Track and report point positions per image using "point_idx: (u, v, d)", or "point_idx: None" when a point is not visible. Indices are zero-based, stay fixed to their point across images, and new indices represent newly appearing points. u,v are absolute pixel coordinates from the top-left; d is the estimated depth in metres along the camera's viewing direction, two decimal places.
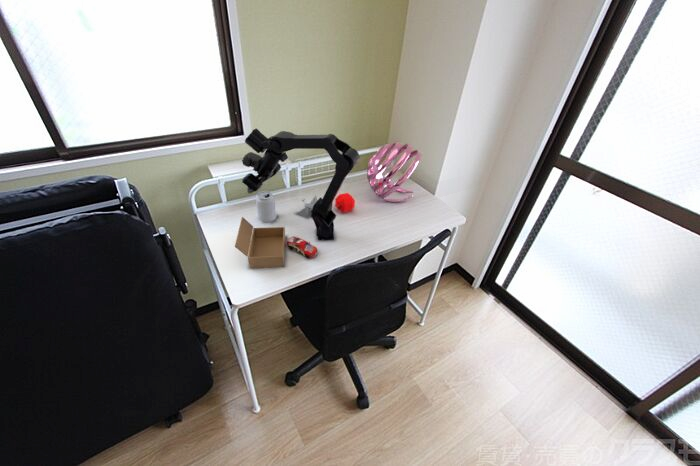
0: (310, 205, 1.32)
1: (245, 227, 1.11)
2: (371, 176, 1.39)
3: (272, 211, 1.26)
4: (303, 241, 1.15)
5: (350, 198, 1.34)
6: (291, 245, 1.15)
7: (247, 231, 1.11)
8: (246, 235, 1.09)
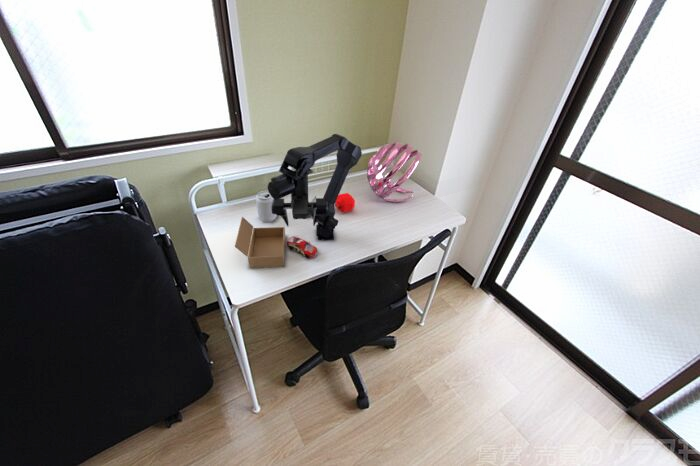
0: None
1: (245, 227, 1.11)
2: (371, 176, 1.39)
3: None
4: (303, 241, 1.15)
5: (350, 198, 1.34)
6: (291, 245, 1.15)
7: (247, 231, 1.11)
8: (246, 235, 1.09)
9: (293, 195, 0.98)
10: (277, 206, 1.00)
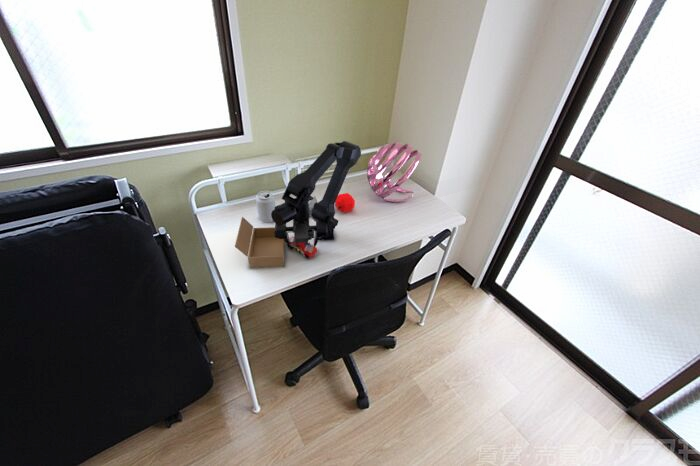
0: (309, 205, 1.32)
1: (245, 227, 1.11)
2: (371, 176, 1.39)
3: None
4: None
5: (350, 198, 1.34)
6: (291, 245, 1.15)
7: (247, 231, 1.11)
8: (246, 235, 1.09)
9: (295, 220, 1.04)
10: (280, 230, 1.06)
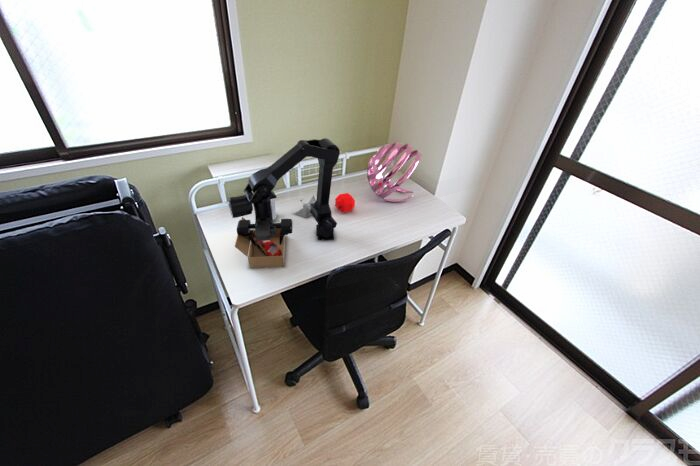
0: (308, 205, 1.32)
1: None
2: (371, 176, 1.39)
3: (272, 211, 1.26)
4: (269, 242, 1.12)
5: (350, 198, 1.34)
6: (258, 243, 1.14)
7: None
8: None
9: (256, 217, 1.01)
10: (242, 228, 1.04)
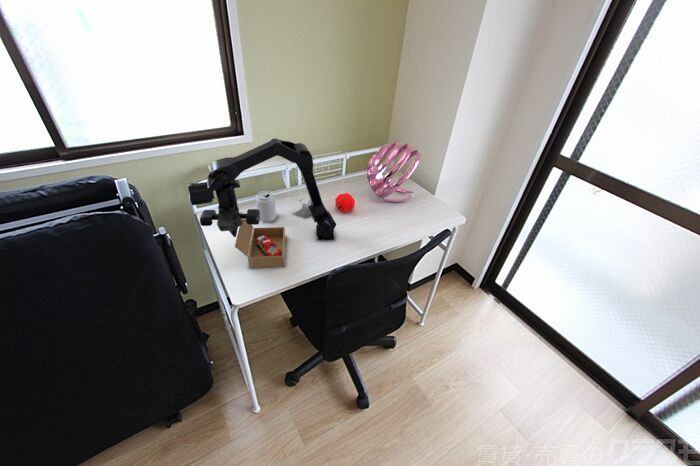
0: (308, 205, 1.32)
1: (245, 227, 1.11)
2: (371, 176, 1.39)
3: (272, 211, 1.26)
4: (269, 242, 1.12)
5: (350, 198, 1.34)
6: (258, 243, 1.14)
7: (247, 231, 1.11)
8: (246, 235, 1.09)
9: (219, 207, 0.97)
10: (205, 218, 0.99)
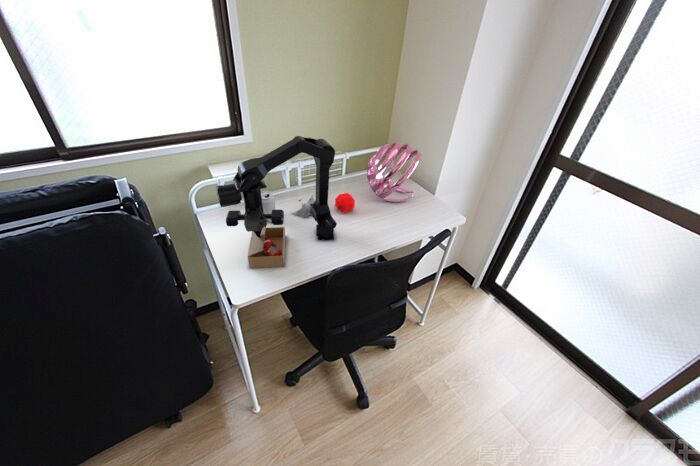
0: (307, 205, 1.32)
1: None
2: (371, 176, 1.39)
3: None
4: (269, 242, 1.12)
5: (350, 198, 1.34)
6: None
7: None
8: None
9: (246, 207, 0.98)
10: (231, 218, 1.01)
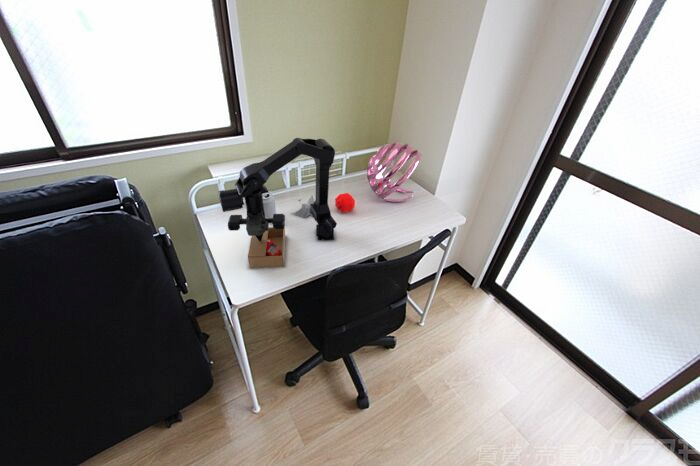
0: (307, 205, 1.32)
1: None
2: (371, 176, 1.39)
3: (272, 211, 1.26)
4: (269, 242, 1.12)
5: (350, 198, 1.34)
6: None
7: None
8: None
9: (248, 212, 0.99)
10: (233, 222, 1.02)
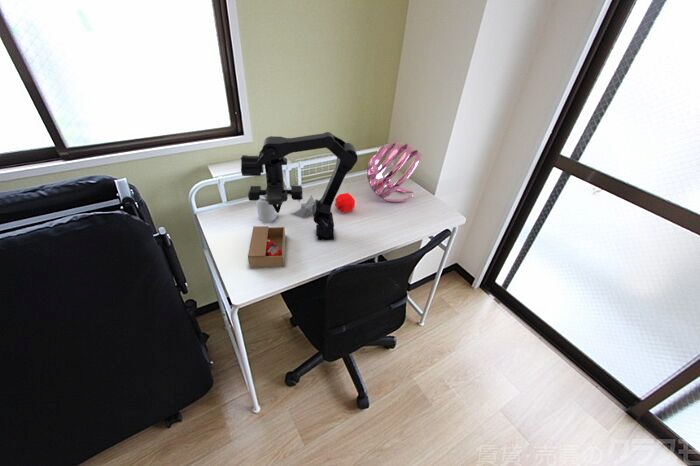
0: (307, 205, 1.32)
1: None
2: (371, 176, 1.39)
3: (272, 211, 1.26)
4: (269, 242, 1.12)
5: (350, 198, 1.34)
6: None
7: None
8: None
9: (268, 182, 1.03)
10: (253, 193, 1.05)
